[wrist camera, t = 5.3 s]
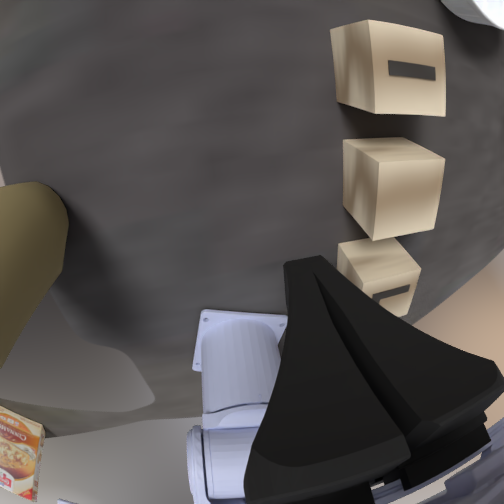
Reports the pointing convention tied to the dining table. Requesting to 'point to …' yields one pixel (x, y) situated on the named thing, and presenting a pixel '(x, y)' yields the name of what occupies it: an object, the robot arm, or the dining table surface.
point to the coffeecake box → (20, 454)
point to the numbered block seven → (380, 271)
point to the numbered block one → (389, 68)
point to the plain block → (391, 185)
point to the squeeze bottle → (27, 254)
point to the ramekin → (478, 11)
